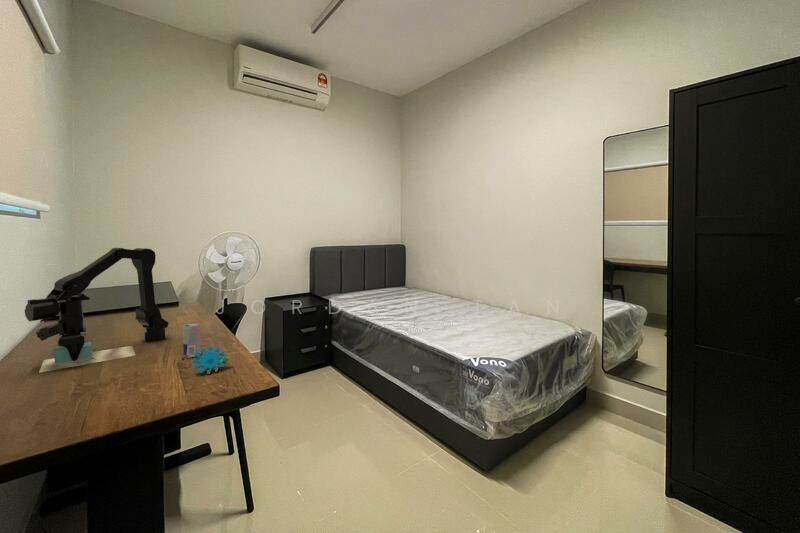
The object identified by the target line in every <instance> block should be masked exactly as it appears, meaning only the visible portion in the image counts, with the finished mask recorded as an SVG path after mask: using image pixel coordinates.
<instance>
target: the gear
mask: <svg viewBox="0 0 800 533" xmlns="http://www.w3.org/2000/svg"><path fill="white" fill-rule="evenodd" d="M213 349H214V347H213V346H211V345H209V346H208V351H207V352H205V351H206V347H200V353H202V354H201V355H199V352H197V353H195V356H196V357H195V358H192V360H191V363H192V364H194V365H193V370H197V369H198V373H199V374H200V373H202V374H203V373H204V371H205V370H207V371H206V372H209V371H211V372H212V369H213V368H214V370H216V369H219V368H220V367H223V368H224V367H225V365H226V364H227V362H228V361H230V358H231V357H230V356H229V355H227V356H225V351H224V350H223V351H221V348H220V347H216V348H215V349H214V350H213ZM212 350H213V351H212ZM220 351H221V352H220ZM217 352H218V353H217ZM223 356H224V357H223ZM197 358H198V360H197ZM196 363H197V364H196ZM198 364H199V365H198ZM218 365H219V368H218ZM199 368H200V369H199Z"/></svg>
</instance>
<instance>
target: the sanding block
mask: <svg viewBox="0 0 800 533" xmlns="http://www.w3.org/2000/svg"><path fill="white" fill-rule="evenodd" d="M92 346H93V345H92V341H88V342H85V343H84V345H83V347H82V349H81V352H80V354H79V356H78V359H77V360H76V361H72V359H71V357H70V354H69V352H68V350H67V348H65V347H63V346H56V347H55V348H54V350H53V354H54V356H53V357H54V358H55V366H56V365H62V364H67V363H73V362H79V361H85V360H90V359H92V352H93V349H92V348H93V347H92Z"/></svg>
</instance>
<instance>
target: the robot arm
mask: <svg viewBox="0 0 800 533" xmlns="http://www.w3.org/2000/svg"><path fill="white" fill-rule="evenodd" d="M156 258H157V257H156V252H155V251H154V250H152V249H151V248H141V247H140V248H139V247H137V248H133V249H130V248H124V247H112V248H111V249H110V250H109V251H108V252H106V253H105V254H103V255H101V256H100V257H99V258H97V259H96V260H94V261H93V262H91V263H89V264H88V265H87V266H85V267H84V268H83V269H81V270H79V271H78V270H77V271H76V272H73V273H71V274H68V275H65V276H63V277H61V278H59V279H58V280H56V281H55V282H54V284H53V285H54V286H53V289H52V290H51V291H50V292H49V293H48V294H47V295H46V297H45V298H38V299H37V298H36V299H35V298H34V299H28V300H27V304H26V305H25V309H24V315H25V317H26V320H27V321H28V322H35V321H41V320H46V319H54V318H56V316H59V318H58V321H57V322H56V323H53V324H50V325H47V326H44V327H41V328H38V329H37V330H36V331H35V335H36V337H37V338H38V339H39V341H46V340H47V339H48V338H51V337H54V336H56V335H59V336H60V337H58V340H57V345H58V346H57V347H60V346H63V347H65V348H67V350H68V352H69V354H70V357H71V359H72V361H76V360H77V359H78V356H79V354H80V352H81V349H82V347H83V345H84V343H86V336H87V334H86V333H87V326H86V325H85V323H84V318H85V316H84V310H83V302H84V301H89V300H91V298H90V297H88V296H87V295H85V294H84V293H83V292H84V291H85V290H86V289H87V288H88V287H89V286H90V284H91V283H92V281H93V280H94V279H95V278H97V277H99V275H101V274H102V273H104V272H105V271H107V270H108V269H109V268H111V267H112V266H114V265H115V264H116V263H118V262H119V261H121V260H122V259H128V260H129V259H130V260H131V263H132V265H133V266H134V268H135V270H136V271H137V281H138V291H139V299H140V306H139V309H134V313H135V320H137V322H138V323H139V324H140V325H141V326H142V328H144V329H145V331H144V332H143V335H144V342H145V343H146V342H147V343H148V342H159V341H160V342H161V341H162V340H165V339H166V329H167V328H168V326H169V324H170V323H169V322H168V321H167V320H165V319H164V318H162V317H163V316H162V313H161V310H160V308H159V307H158V306H157V303H156V299H155V296H156V295H155V289H154V277H153V268H154V266H155V264H156Z"/></svg>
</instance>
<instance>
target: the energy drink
mask: <svg viewBox="0 0 800 533" xmlns="http://www.w3.org/2000/svg"><path fill="white" fill-rule="evenodd" d="M200 338H201V335H200V325H199V323H198V322H197V323H196V322H193V323H192V322H191V323H186V324H183V325H182V348H183V356H185V357H186V358H185V359H192V358H191V357H195V353H197V352H199V354H200V355H201V339H200ZM195 358H196V357H195Z"/></svg>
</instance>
